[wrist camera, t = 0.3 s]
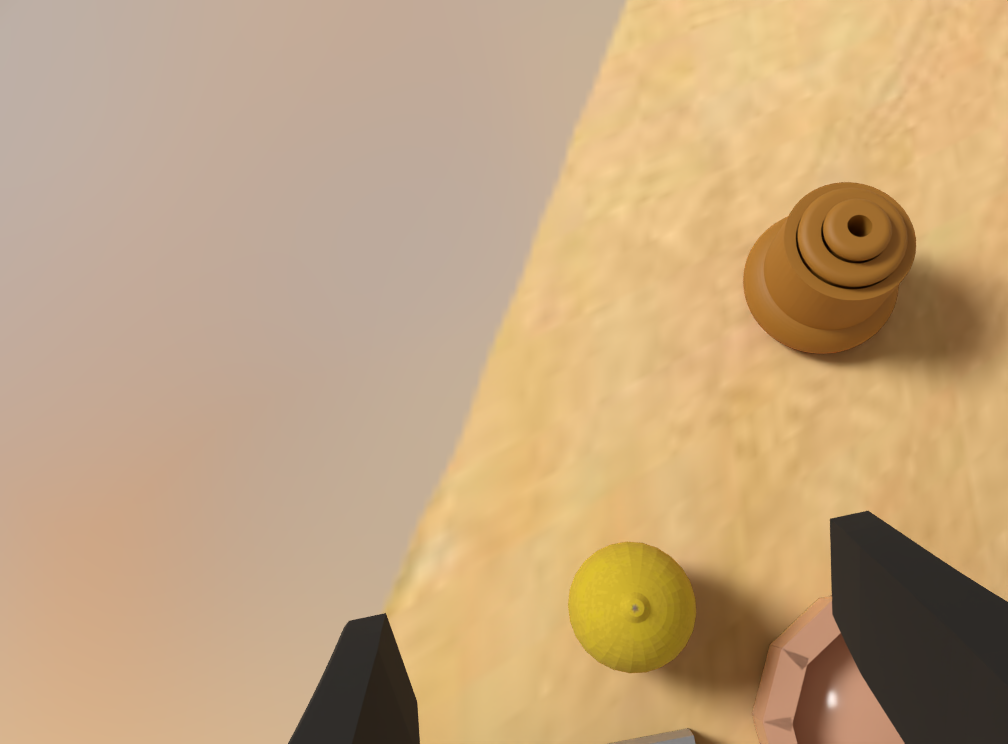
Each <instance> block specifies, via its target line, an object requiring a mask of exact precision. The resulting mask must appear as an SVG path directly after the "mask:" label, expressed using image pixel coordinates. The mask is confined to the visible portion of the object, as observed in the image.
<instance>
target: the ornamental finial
mask: <svg viewBox="0 0 1008 744" xmlns="http://www.w3.org/2000/svg"><path fill="white" fill-rule="evenodd" d="M915 253H916V237H915V232H914V228H913V225H912V223H911V221H910V219H909V217H908V215H907V214H906V212H905V211H904V209H903V208H902V207H901V206H900V205H899V204H898V203H897V202H896V201H895V200H894V199H893V198H891V197H890V196H889V195H887V194H886V193H884V192H882V191H880V190H878V189H876V188H874V187H871V186H868V185H864V184H859V183H851V182H841V183H833V184H829V185H825V186H823V187H820V188H818V189H816V190H814V191H812V192H810V193H809V194H807V195H806V196H805V197H803V198H802V199H801V200H800V201H799V202H798V203H797V204H796V205H795V207H794V208H793V210H792V211H791V213H790V214H789V216H788V217H786V218H784V219H782V220H780V221H779V222H777V223H775V224H774V225H772V226H771V227H770V228H769V229H767V230H766V231H765V232H764V233H763V234H762V235H761V236H760V238H759V239H758V240H757V241H756V243H755V244H754V246H753V248H752V249H751V251H750V253H749V256H748V258H747V261H746V264H745V269H744V277H743V284H744V293H745V298H746V301H747V304H748V307H749V309H750V311H751V313H752V315H753V316H754V318H755V320H756V321H757V322H758V324H759V325H760V326H761V327H762V328H763V329H764V330H765V331H766V332H767V333H768V334H769V335H770V336H772V337H773V338H774V339H776V340H777V341H779V342H780V343H782V344H784V345H786V346H788V347H791V348H793V349H796V350H799V351H804V352H809V353H818V354H826V353H836V352H841V351H845V350H848V349H851V348H853V347H856V346H858V345H860V344H862V343H863V342H865V341H867V340H868V339H870V338H871V337H872V336H873V335H875V334H876V333H877V332H878V331H879V330H880V329H881V328H882V326H883V325H884V324H885V323H886V321H887V320H888V318H889V317H890V315H891V313H892V311H893V308H894V306H895V303H896V300H897V295H898V288H899V283H900V282H901V281H902V280H903V279H904V277H905V276H906V275H907V273H908V272H909V270H910V268H911V266H912V263H913V261H914V257H915Z"/></svg>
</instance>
